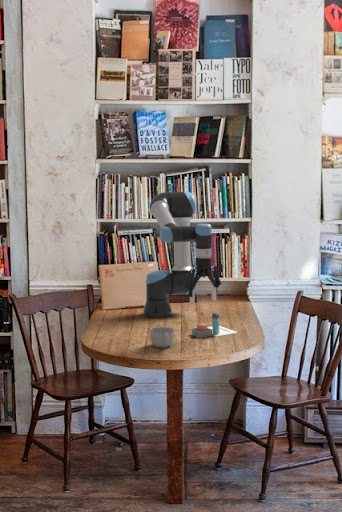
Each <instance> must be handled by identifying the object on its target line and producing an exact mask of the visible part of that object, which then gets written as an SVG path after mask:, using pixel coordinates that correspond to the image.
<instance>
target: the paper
mask: <svg viewBox="0 0 342 512" xmlns="http://www.w3.org/2000/svg"><path fill="white" fill-rule="evenodd" d="M207 328H209V329H212V326H207ZM238 333H239V332H238V331H236V330H232V329H231V328H230V329H229V328H227V327H224V326H221V325H219V334H218V335H213V334H212V336H213V337H215V338H217V337H222V336H228V335H233V334H238Z"/></svg>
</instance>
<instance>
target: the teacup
mask: <svg viewBox="0 0 342 512" xmlns="http://www.w3.org/2000/svg"><path fill="white" fill-rule="evenodd" d="M174 333H175V329H174V328H173V327H167V326H155V327H151V328H150V329H149V336H150V337H149V338H150V343H151V345H153V346H154V347H155V348H161V349H163V348H168V347H170V346H171V345H173V343H174V336H175V335H174Z"/></svg>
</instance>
